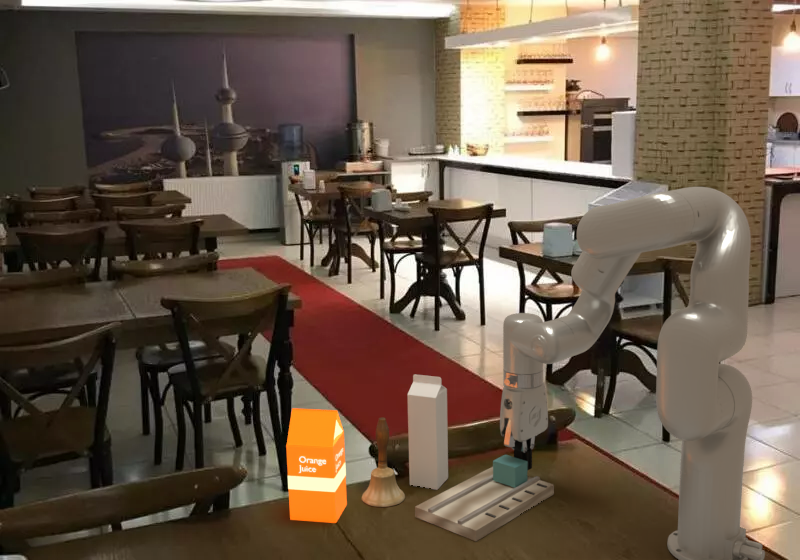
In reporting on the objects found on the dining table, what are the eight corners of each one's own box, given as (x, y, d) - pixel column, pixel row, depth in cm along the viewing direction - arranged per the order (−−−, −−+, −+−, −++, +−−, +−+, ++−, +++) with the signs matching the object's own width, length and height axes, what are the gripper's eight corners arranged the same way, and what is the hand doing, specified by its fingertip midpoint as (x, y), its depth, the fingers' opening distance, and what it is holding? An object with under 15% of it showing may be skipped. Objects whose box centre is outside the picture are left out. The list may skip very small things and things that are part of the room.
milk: (421, 474, 173) (418, 369, 169) (448, 478, 171) (447, 372, 167) (409, 485, 168) (406, 378, 164) (437, 490, 166) (435, 381, 162)
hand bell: (376, 485, 169) (374, 408, 166) (413, 493, 164) (411, 415, 161) (353, 501, 162) (350, 422, 159) (390, 511, 157) (388, 429, 154)
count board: (553, 494, 163) (553, 481, 162) (476, 541, 145) (475, 527, 145) (494, 474, 172) (494, 462, 172) (415, 516, 155) (414, 503, 154)
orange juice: (336, 523, 153) (331, 417, 149) (289, 520, 155) (283, 415, 151) (347, 504, 161) (343, 403, 157) (302, 501, 163) (297, 401, 159)
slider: (527, 480, 163) (527, 461, 163) (515, 487, 161) (515, 467, 160) (505, 473, 167) (505, 454, 166) (493, 480, 164) (492, 460, 163)
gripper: (515, 391, 155) (515, 486, 159) (561, 372, 166) (560, 461, 169) (483, 383, 160) (484, 475, 164) (529, 365, 171) (529, 452, 174)
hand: (522, 468), depth 166 cm, fingers closed
